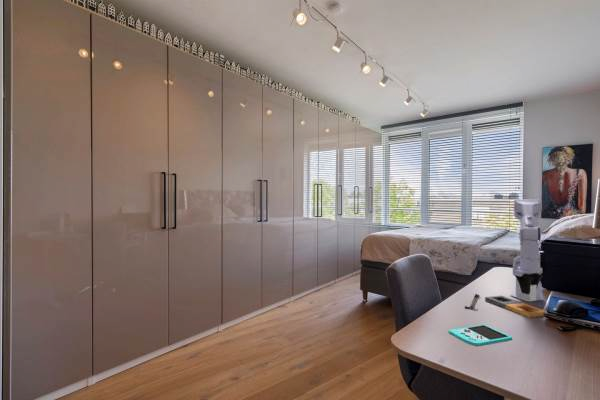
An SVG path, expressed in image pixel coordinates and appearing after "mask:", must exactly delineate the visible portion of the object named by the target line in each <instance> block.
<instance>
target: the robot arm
mask: <svg viewBox="0 0 600 400" xmlns="http://www.w3.org/2000/svg"><path fill="white" fill-rule="evenodd" d="M513 202H514V203H513V215H514V218H515V219H517V220H519V224H520V228H519V231H518V232H519V235H518V237H519V246H520V247H519V249H520V251H519V253H520V254H519V255H518V256H516V257H514V258H513V260H512V275H513V277H515V293H514V294H510V297H513V298H516V299H519V285H520V288H521V292H522V293H524V294H529V290H530V285H531V283H532V284H536V300H535V301H534V302H536V301H538V302H539V301H544V300H545V299H544V298H542V291H543V290H542V286H543V285H542V282H541V280H542V279H543V276H544V275H543V267H541V263H540V261H539V259H540V243H541V241H542V239H541V238H542V229H541V227H540V226H539V219H540V217H541V216H542V215H541V214H542V210H543V209H542V208H543V207H542V206H543V202H542V200H541V199H539V198H538V199H527V198H526V199H522V198H521V199H520V198H519V199H517V198H515V199H514V200H513ZM519 300H522V301H525V302H527V303H528V302H530V301H526V300H523V299H519Z"/></svg>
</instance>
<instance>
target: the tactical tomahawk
mask: <svg viewBox="0 0 600 400" xmlns="http://www.w3.org/2000/svg"><path fill="white" fill-rule="evenodd" d="M480 297H481V296H480V294H477V293H475V294H474V297H473V299H472V301H471V304H470V306H467V305H465V306H464V309H466V310H470V311H475V312H478V310H479V309H478V308H476V307H475V306H476V304H477V301H478V299H479V298H480Z"/></svg>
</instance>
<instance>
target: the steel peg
mask: <svg viewBox="0 0 600 400" xmlns="http://www.w3.org/2000/svg"><path fill="white" fill-rule="evenodd" d="M521 299H523V300H522V301H524V300H526V301H525V302H528V301H529V302H536V301H535V300H536V284H532V283H531V285H530V290H529V294H524V293H522V292H521V288H520V285H519V300H521Z"/></svg>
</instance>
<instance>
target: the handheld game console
mask: <svg viewBox="0 0 600 400" xmlns="http://www.w3.org/2000/svg"><path fill="white" fill-rule="evenodd" d="M448 333H449V334H450V335H452V336H454V337H456V338H458V339H460V340H461V341H463V342H465V343H467V344H471V345H473V346H474V345H475V346H483V345H489V344H494V343H499V342H506V341H511V340H513V337H512V336H511V335H509V334H506V333H504V332H502V331H501V330H498V329H496V328H493V327H491V326H489V325H486V324H480V325H473V326H467V327H460V328H454V329H449V330H448Z"/></svg>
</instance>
